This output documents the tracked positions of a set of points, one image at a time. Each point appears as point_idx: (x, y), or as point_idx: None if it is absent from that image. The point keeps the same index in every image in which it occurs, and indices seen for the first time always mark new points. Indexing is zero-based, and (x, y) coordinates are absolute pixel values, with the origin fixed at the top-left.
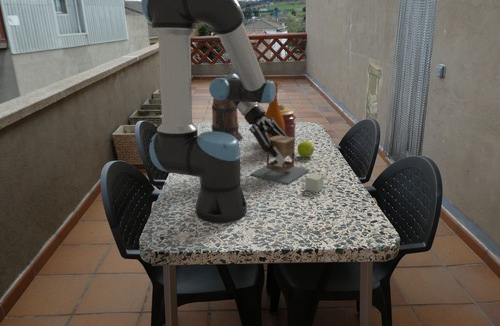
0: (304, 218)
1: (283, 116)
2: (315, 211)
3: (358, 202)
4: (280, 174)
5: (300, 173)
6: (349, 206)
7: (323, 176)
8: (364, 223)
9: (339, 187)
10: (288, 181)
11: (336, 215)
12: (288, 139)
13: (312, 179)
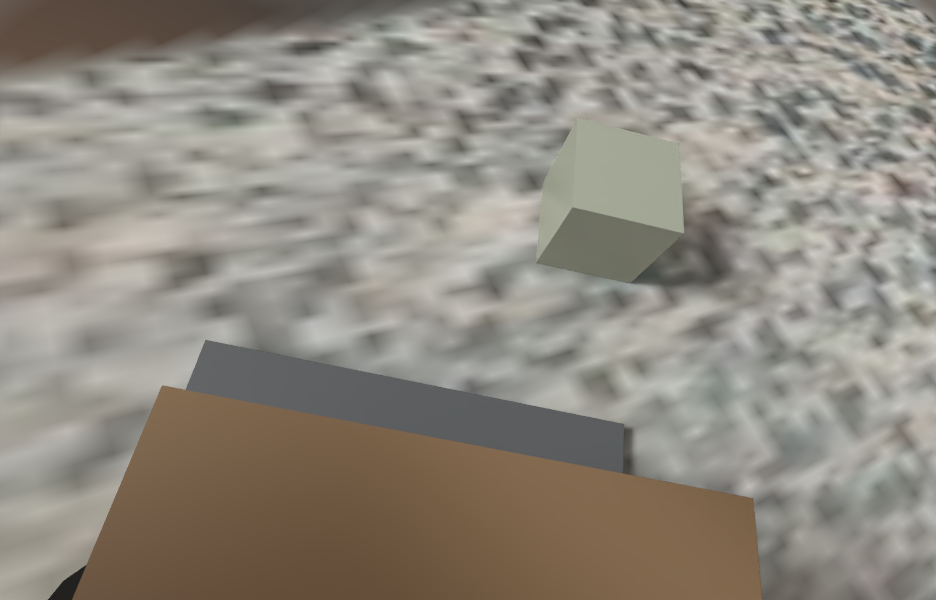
0: (932, 211)
1: None
2: (841, 178)
3: (629, 19)
4: None
5: (352, 392)
6: (694, 52)
7: (581, 122)
8: (794, 8)
9: (487, 99)
10: (587, 436)
11: (809, 95)
12: (413, 515)
13: (679, 184)
